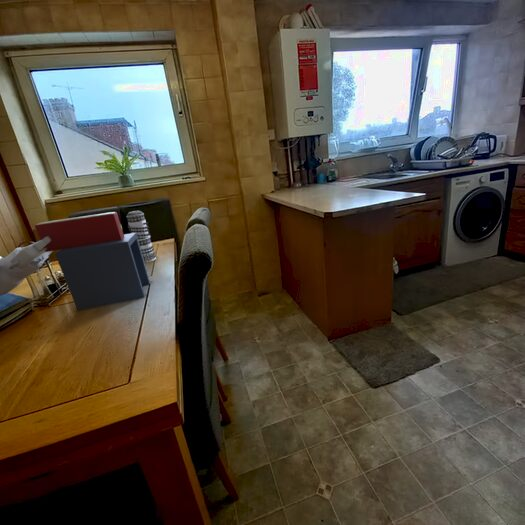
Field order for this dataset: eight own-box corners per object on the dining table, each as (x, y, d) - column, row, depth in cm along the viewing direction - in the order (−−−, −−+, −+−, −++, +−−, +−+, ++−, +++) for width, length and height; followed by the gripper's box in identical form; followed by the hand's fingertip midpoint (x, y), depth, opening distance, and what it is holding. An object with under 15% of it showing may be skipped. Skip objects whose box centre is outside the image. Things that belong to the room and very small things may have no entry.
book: (45, 252, 92) (34, 224, 89) (51, 248, 96) (40, 222, 92) (121, 239, 96) (113, 213, 93) (124, 237, 99) (116, 211, 96)
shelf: (77, 311, 95) (54, 253, 88) (91, 294, 108) (72, 242, 101) (144, 297, 99) (127, 241, 92) (150, 282, 112) (135, 232, 105)
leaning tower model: (150, 256, 148) (137, 209, 139) (160, 258, 142) (148, 209, 134) (134, 262, 141) (120, 213, 132) (144, 264, 135) (130, 213, 127)
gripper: (-5, 263, 82) (31, 234, 82) (33, 245, 101) (61, 221, 101) (15, 278, 85) (49, 250, 84) (48, 258, 104) (76, 235, 103)
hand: (56, 234), depth 93 cm, fingers open, 8 cm apart
